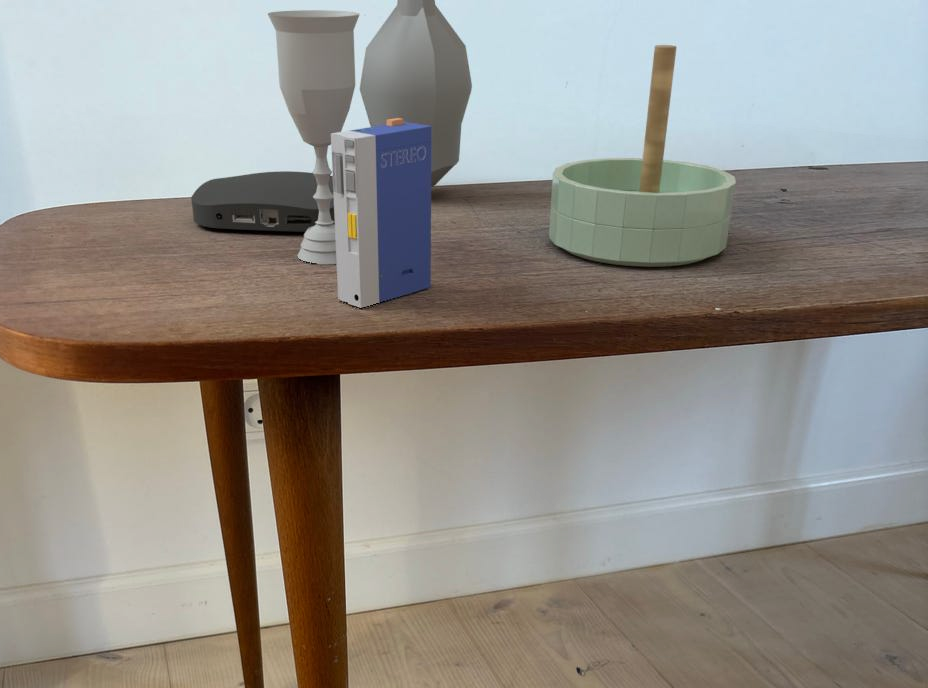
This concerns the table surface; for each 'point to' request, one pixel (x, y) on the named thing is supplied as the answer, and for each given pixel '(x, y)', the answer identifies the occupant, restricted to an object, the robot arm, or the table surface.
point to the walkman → (382, 211)
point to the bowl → (640, 212)
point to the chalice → (317, 99)
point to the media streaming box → (260, 202)
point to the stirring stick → (657, 117)
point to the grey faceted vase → (419, 78)
